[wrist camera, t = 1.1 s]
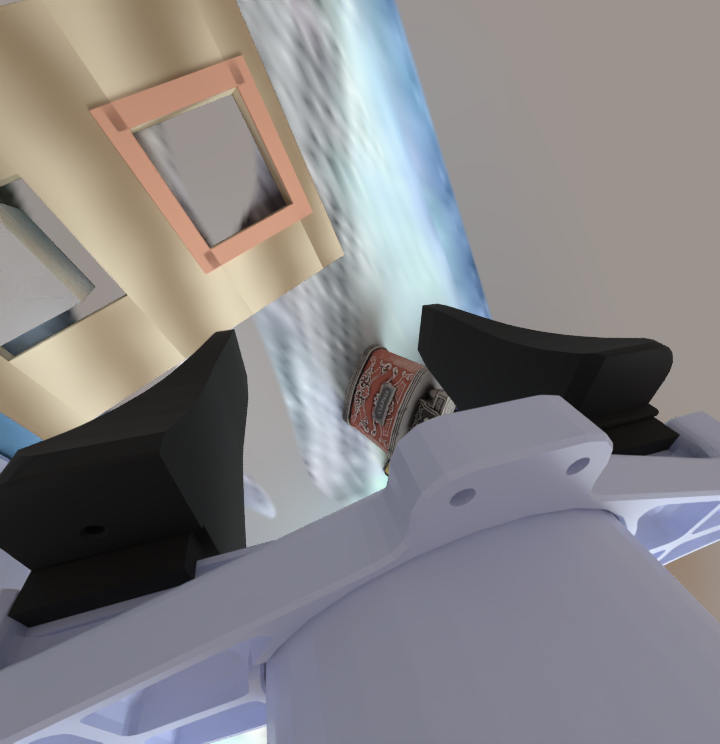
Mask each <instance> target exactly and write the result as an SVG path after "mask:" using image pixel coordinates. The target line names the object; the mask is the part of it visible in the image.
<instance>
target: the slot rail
mask: <svg viewBox="0 0 720 744" xmlns="http://www.w3.org/2000/svg"><path fill="white" fill-rule="evenodd" d="M230 94H232V95H233V97H234V100H235V102H236V103H237V106H238V108H239V110H240V112H241V114H242V116H243V118H244V120H245V122H246V124H247V126H248V128H249V130H250V132H251V134H252V136H253V138H254V140H255V142H256V144H257V146H258V148H259V150H260V153H261V155H262V157H263V159H264V161H265V163H266V165H267V167H268V169H269V171H270V173H271V175H272V177H273V179H274V181H275V183H276V185H277V187H278V189H279V191H280V193H281V195H282V197H283V199H284V201H285V204H286V206H284V207H282V208H281V209H279V210H277V211H275V212H273V213H272V214H270V215H268V216H266V217H264V218H263V219H261V220H259V221H257V222H255V223H253V224H252V225H250V226H248V227H246V228H244V229H243V230H241V231H239V232H237V233H235V234H234V235H232V236H230V237H228V238H226V239H225V240H223V241H221V242H219V243H217V244H216V245H214V246H212V247H210V248H209V247H208V245H207V244H206V242H205V241H204V239H203V238H202V237H201V235H200V234H199V232H198V231H197V229H196V228H195V226H194V225H193V223H192V222H191V220H190V219H189V217H188V216H187V214H186V213H185V211H184V210H183V208H182V207H181V205H180V204H179V202H178V201H177V199H176V198H175V196H174V195H173V194H172V192H171V191H170V189H169V188H168V186H167V185H166V183H165V182H164V180H163V179H162V177H161V176H160V174H159V173H158V171H157V170H156V168H155V167H154V165H153V164H152V162H151V161H150V159H149V158H148V156H147V155H146V153H145V152H144V151H143V149H142V148H141V146H140V145H139V143H138V142H137V140H136V139H135V137H134V136H133V133H136V132H138V131H141V130H143V129H146V128H148V127H151V126H153V125H156V124H158V123H160V122H163V121H165V120H168V119H170V118H173V117H175V116H178V115H180V114H183V113H185V112H188V111H190V110H193V109H195V108H198V107H200V106H203V105H205V104H208V103H210V102H213V101H215V100H218V99H220V98H223V97H225V96H228V95H230ZM21 178H22V179H23V180H24V181H25V182H26V184H27V185H28V186H29V187H30V188H31V189H32V190H33V191H34V192H35V193H36V195H37V196H38V197H39V198H40V199H41V200H42V201H43V202H44V203H45V205H46V206H47V207H48V208H49V209H50V210H51V211H52V212H53V213H54V214H55V216H56V217H57V218H58V219H59V220H60V221H61V222H62V223H63V224H64V225H65V227H66V228H67V229H69V231H70V232H71V233H72V234H73V235H74V237H75V238H76V239H77V240H78V241H79V242H80V243H81V244H82V245H83V246H84V248H85V249H86V250H87V251H88V252H89V253H90V254H91V255H92V256H93V257H94V258H95V260H97V262H98V263H99V264H100V265H101V266H102V267H103V268H104V270H105V271H106V272H107V273H108V274H109V275H110V276H111V277H112V278H113V279H114V281H115V282H116V283H117V284H118V285H119V286H120V287H121V288H122V289H123V290H124V291H125V293H126V295H124V296H122V297H120V298H118V299H117V300H115V301H113V302H111V303H109V304H108V305H106V306H104V307H102V308H101V309H99V310H97V311H95V312H93V313H92V314H90V315H88V316H86V317H84V318H82V319H81V320H79V321H77V322H75V323H73V324H72V325H70V326H68V327H66V328H64V329H63V330H61V331H59V332H57V333H55V334H54V335H52V336H50V337H48V338H46V339H45V340H43V341H41V342H39V343H37V344H36V345H34V346H32V347H30V348H28V349H27V350H25V351H23V352H21V353H19V354H18V355H16V356H14V355H12V354H11V353H10V352H9V351H7V350H6V349H5V348H3V347H2V346H0V412H1V413H3V414H4V415H6V416H7V417H9V418H10V419H12V420H13V421H15V422H17V423H18V424H20V425H21V426H23V427H24V428H26V429H27V430H29V431H30V432H32V433H33V434H35V435H37V436H38V437H40V438H41V439H43V440H46V439H49V438H51V437H54V436H56V435H59V434H61V433H64V432H66V431H69V430H71V429H74V428H76V427H78V426H81V425H83V424H85V423H87V422H89V421H91V420H93V419H94V418H96V417H97V416H99V415H100V414H102V413H104V412H105V411H107V410H108V409H110V408H111V407H113V406H114V405H115V404H117V403H119V402H120V401H122V400H123V399H125V398H126V397H128V396H129V395H131V394H133V393H134V392H136V391H137V390H138V389H140V388H142V387H143V386H145V385H146V384H148V383H149V382H151V381H152V380H154V379H155V378H157V377H158V376H160V375H161V374H163V373H164V372H166V371H168V370H169V369H171V368H172V367H174V366H175V365H177V364H178V363H180V362H181V361H183V360H184V359H186V358H187V357H189V356H190V355H192V354H193V353H194V352H195V351H197V350H198V349H199V348H200V347H201V346H202V345H203V344H204V343H205V342H206V341H207V340H208V339H209V338H210V337H211V336H212V335H213V334H214V333H215V332H217V331H225V330H230V329H232V328H233V327H235V326H236V325H238V324H239V323H241V322H242V321H244V320H245V319H247V318H248V317H250V316H251V315H253V314H254V313H256V312H258V311H259V310H261V309H262V308H264V307H265V306H267V305H268V304H270V303H271V302H273V301H274V300H276V299H277V298H279V297H280V296H282V295H283V294H285V293H287V292H288V291H290V290H291V289H293V288H294V287H296V286H297V285H299V284H300V283H302V282H303V281H305V280H306V279H308V278H309V277H311V276H312V275H314V274H315V273H317V272H319V271H320V270H322V269H323V268H325V267H326V266H328V265H329V264H331V263H332V262H334V261H335V260H337V259H338V258H340V257H341V256H343V255H344V253H343V251H342V248H341V246H340V244H339V241H338V239H337V237H336V234H335V232H334V230H333V227H332V225H331V223H330V220H329V218H328V216H327V213H326V211H325V209H324V206H323V204H322V201H321V199H320V197H319V194H318V192H317V190H316V187H315V185H314V183H313V180H312V178H311V176H310V173H309V171H308V169H307V166H306V164H305V162H304V159H303V157H302V155H301V152H300V150H299V148H298V145H297V143H296V141H295V138H294V136H293V133H292V131H291V129H290V126H289V124H288V122H287V119H286V117H285V115H284V112H283V110H282V108H281V105H280V103H279V101H278V98H277V96H276V94H275V91H274V89H273V87H272V84H271V82H270V80H269V77H268V75H267V73H266V70H265V68H264V66H263V63H262V61H261V58H260V56H259V54H258V51H257V49H256V47H255V44H254V42H253V40H252V37H251V35H250V33H249V30H248V28H247V26H246V23H245V21H244V19H243V16H242V14H241V12H240V9H239V7H238V5H237V2H236V0H23V1H19V2H15V3H11V4H7V5H2V6H0V187H1V186H4V185H6V184H9V183H11V182H14V181H16V180H18V179H21Z"/></svg>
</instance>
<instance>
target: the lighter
mask: <svg viewBox="0 0 720 744" xmlns="http://www.w3.org/2000/svg"><path fill="white" fill-rule="evenodd" d="M455 406H456V405H455V404H454V403H453V401H452V400H451V399H450V397H449V396H448V395H447V394H446V392H445V391H444V390H442V387H441V386H440V384H439V383H438V382H437V380H436V379H435V378H434V376H433V375H432V374H431V372H430V371H429V370H428V368H427V367H426V366H423V365H420V364H418V363H415V362H413V361H411V360H408V359H406V358H403V357H401V356H398V355H396V354H394V353H391V352H389V351H388V350H387V349H386V348H384V347H382V346H379V345H375V344H373V345H370V346H368V347H367V348H366V349H365V350H364V351H363V353H362V355H361V357H360V359H359V361H358V363H357V365H356V367H355V370H354V372H353V375H352V378H351V380H350V383H349V386H348V390H347V394H346V398H345V403H344V409H343V420H344V421H345V422H346V423H347V424H348V425H349V426H351V427H352V428H356V429H357V430H359V431H360V432H361V433H362V434H364V435H365V436H366V437H367V438H368V439H370V440H371V441H372V442H373V443H375V444H376V445H377V446H378V447H380V448H381V449H382V450H383V451H384V452H386V453H387V454H388V457H389V459H391V457H392V455H393V452H394V450H395V447H396V445H397V443H398V442H399V440H400V439H402V438H403V437H404V436H405V435H406V434H407V433H408V432H409V431H411V430H412V429H413V428H414V427H415V426H416V425H418V424H420V423H423V422H425V421H428V420H430V419H433V418H435V417H438V416H441V415H446V414H450V413H453V411H454V409H455Z"/></svg>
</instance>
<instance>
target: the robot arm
mask: <svg viewBox="0 0 720 744" xmlns="http://www.w3.org/2000/svg"><path fill="white" fill-rule="evenodd" d="M418 351H419V353H420V355H421V357H422V359H423V361H424V363H425V365H426V367H427V368H428V370H429V371H430V372H431V374H432V375H433V376H434V378H435V379H436V380H437V382H438V383H439V384H440V386H441V387H442V388H443V390H444V391H445V392H446V394H447V395H448V396H449V397H450V399H451V400H452V401H453V403H454V404H455V405H456V407H457V408H458V410H459V411H460V412H455V413H450V414H446V415H441V416H438V417H435V418H433V419H430V420H428V421H425V422H423V423H420V424H418V425H416V426H415V427H414V428H413V429H412V430H411V431H409V432H408V433H407V434H406V435H405V436H404V437H403V438H402V439H400V440H399V442H398V443H397V445H396V447H395V450H394V452H393V455H392V457H391V459H390V462H389V475H388V482H387V486H386V487H385V488H384V489H382V490H380V491H378V492H376V493H373V494H371V495H369V496H367V497H365V498H363V499H361V500H359V501H357V502H355V503H352V504H350V505H348V506H346V507H344V508H342V509H340V510H338V511H336V512H334V513H331V514H330V515H327V516H325V517H323V518H321V519H319V520H317V521H315V522H312V523H310V524H308V525H306V526H304V527H302V528H300V529H298V530H296V531H294V532H291V533H289V534H287V535H285V536H283V537H281V538H279V539H277V540H273V541H270V542H266V543H262V544H258V545H254V546H251V547H247V548H246V534H245V515H244V489H243V445H244V435H245V425H246V416H247V406H248V384H247V374H246V371H245V367H244V363H243V360H242V357H241V352H240V349H239V345H238V341H237V337H236V334H235V330H234V329H233V330H225V331H217V332H215V333H214V334H213V335H212V336H211V337H210V338H209V339H208V340H207V341H206V342H205V343H204V344H203V345H202V346H201V347H200V348H199V349H198V350H197V351H195V352H194V353H193V354H192V355H191V356H190V357H189V358H188V359H187V360H186V361H185V362H184V363H182V364H181V365H180V366H179V367H178V368H177V369H175V370H174V371H173V372H172V373H171V374H170V375H168V376H167V377H166V378H164V379H163V380H162V381H160V382H159V383H157V384H156V385H154V386H153V387H151V388H150V389H148V390H147V391H145V392H144V393H142V394H140V395H139V396H137V397H135V398H133V399H132V400H130V401H128V402H127V403H125V404H123V405H121V406H120V407H118V408H116V409H114V410H112V411H110V412H108V413H106V414H104V415H102V416H100V417H98V418H96V419H94V420H91V421H89V422H87V423H85V424H83V425H81V426H78V427H76V428H74V429H71V430H69V431H66V432H64V433H61V434H59V435H56V436H54V437H51V438H49V439H46V440H44V441H41V442H38V443H36V444H33V445H31V446H28V447H25V448H22V449H20V450H18V451H17V452H16V454H15V455H14V456H13V458H12V459H11V460H10V459H8V458H6V457H5V456H3V455H1V454H0V744H210V743H213V742H216V741H220V740H223V739H226V738H229V737H233V736H236V735H239V734H242V733H246V732H249V731H252V730H255V729H259V728H262V727H265V726H267V744H720V623H719V622H718V621H717V620H716V619H715V618H714V617H713V616H712V615H711V614H710V613H709V612H708V611H707V610H706V609H705V608H704V607H703V606H702V605H701V604H700V603H699V602H698V601H697V599H695V598H694V596H693V595H692V594H691V593H690V592H689V591H688V590H687V589H686V588H685V587H684V586H683V585H682V584H681V583H680V582H679V581H678V580H677V579H676V578H675V577H674V576H673V575H672V574H671V573H670V572H669V571H668V570H667V569H666V568H665V567H664V566H663V565H665V564H667V563H669V562H672V561H674V560H676V559H678V558H680V557H683V556H685V555H687V554H689V553H691V552H693V551H696V550H698V549H700V548H703V547H705V546H707V545H710V544H712V543H714V542H717V541H719V540H720V421H718V420H716V419H715V418H713V417H711V416H710V415H708V414H706V413H704V412H695V413H691V414H687V415H684V416H679V417H675V418H673V419H671V420H669V421H668V422H666V423H665V424H663V423H662V422H660V421H659V420H657V419H656V418H654V416H657V415H658V413H659V411H658V410H657V409H656V408H655V407H653V406H651V405H650V404H648V403H649V402H650V400H651V399H652V397H653V396H654V395H655V393H656V391H657V390H658V389H659V387H660V386H661V384H662V383H663V381H664V380H665V378H666V376H667V375H668V373H669V372H670V369H671V366H672V363H673V355H672V351H671V350H670V348H669V347H667V346H665V345H662V344H661V343H659V342H657V341H655V340H652V339H646V338H598V337H583V336H571V335H562V334H555V333H547V332H541V331H535V330H530V329H525V328H520V327H515V326H512V325H507V324H504V323H501V322H497V321H494V320H490V319H487V318H484V317H481V316H477V315H474V314H471V313H468V312H465V311H462V310H459V309H456V308H453V307H449V306H446V305H441V304H431V305H423V307H422V316H421V324H420V333H419V342H418Z"/></svg>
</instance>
